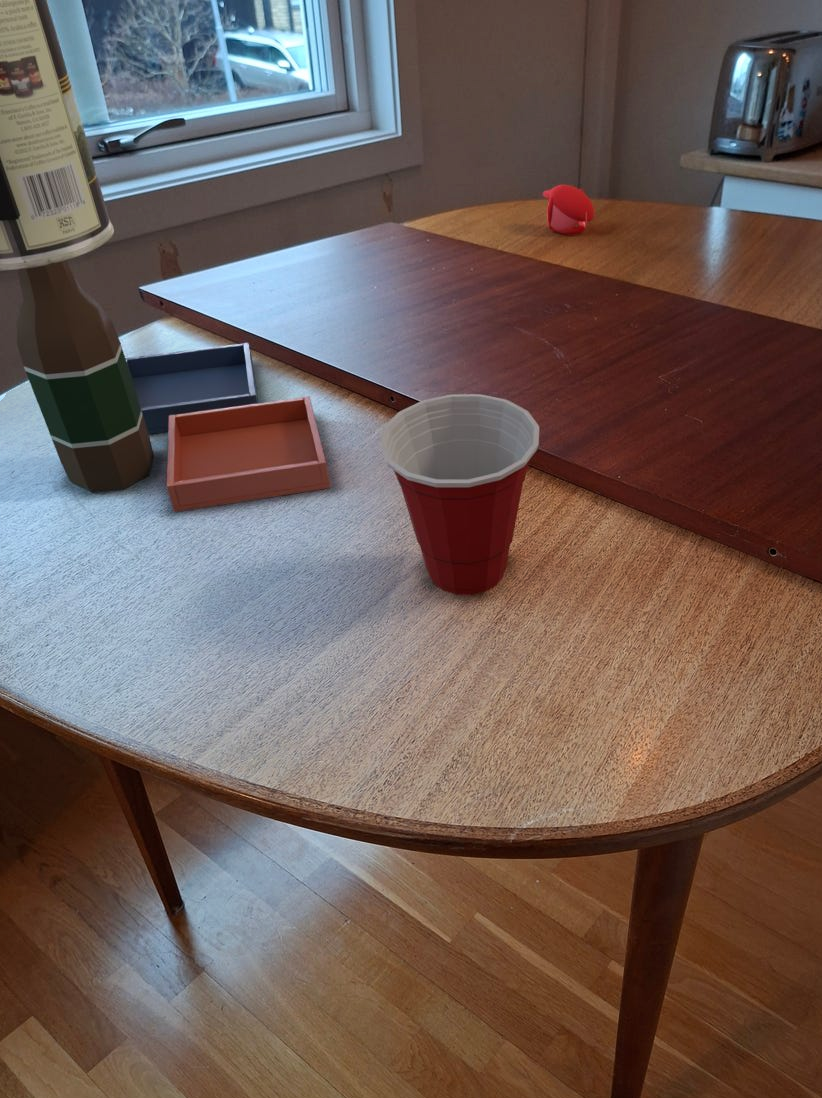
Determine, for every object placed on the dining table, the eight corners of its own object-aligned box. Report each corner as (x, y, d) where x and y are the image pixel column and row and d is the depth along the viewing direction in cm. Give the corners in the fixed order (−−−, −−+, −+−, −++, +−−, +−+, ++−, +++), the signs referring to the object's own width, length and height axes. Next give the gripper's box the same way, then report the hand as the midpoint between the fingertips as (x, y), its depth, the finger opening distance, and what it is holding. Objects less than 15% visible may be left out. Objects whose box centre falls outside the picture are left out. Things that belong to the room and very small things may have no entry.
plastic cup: (373, 607, 63) (352, 461, 55) (420, 525, 71) (408, 387, 63) (519, 630, 61) (519, 481, 53) (551, 543, 69) (555, 401, 61)
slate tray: (121, 438, 84) (114, 414, 82) (128, 380, 94) (121, 358, 92) (260, 418, 86) (255, 395, 84) (253, 364, 96) (248, 342, 94)
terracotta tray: (174, 512, 74) (166, 486, 72) (175, 439, 83) (168, 415, 82) (330, 488, 76) (326, 462, 74) (313, 419, 86) (309, 396, 84)
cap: (599, 227, 129) (602, 182, 125) (586, 239, 125) (588, 193, 121) (548, 221, 132) (549, 178, 128) (534, 233, 127) (534, 188, 123)
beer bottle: (173, 454, 81) (90, 168, 65) (130, 498, 76) (27, 197, 60) (98, 447, 83) (-1, 165, 67) (50, 489, 77) (-70, 193, 61)
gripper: (-183, -478, 28) (54, 247, 43) (-48, -349, 45) (90, 142, 59) (-453, -488, 27) (-112, 263, 42) (-211, -351, 43) (-29, 152, 58)
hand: (7, 192), depth 50 cm, fingers closed on coffee can, 10 cm apart
